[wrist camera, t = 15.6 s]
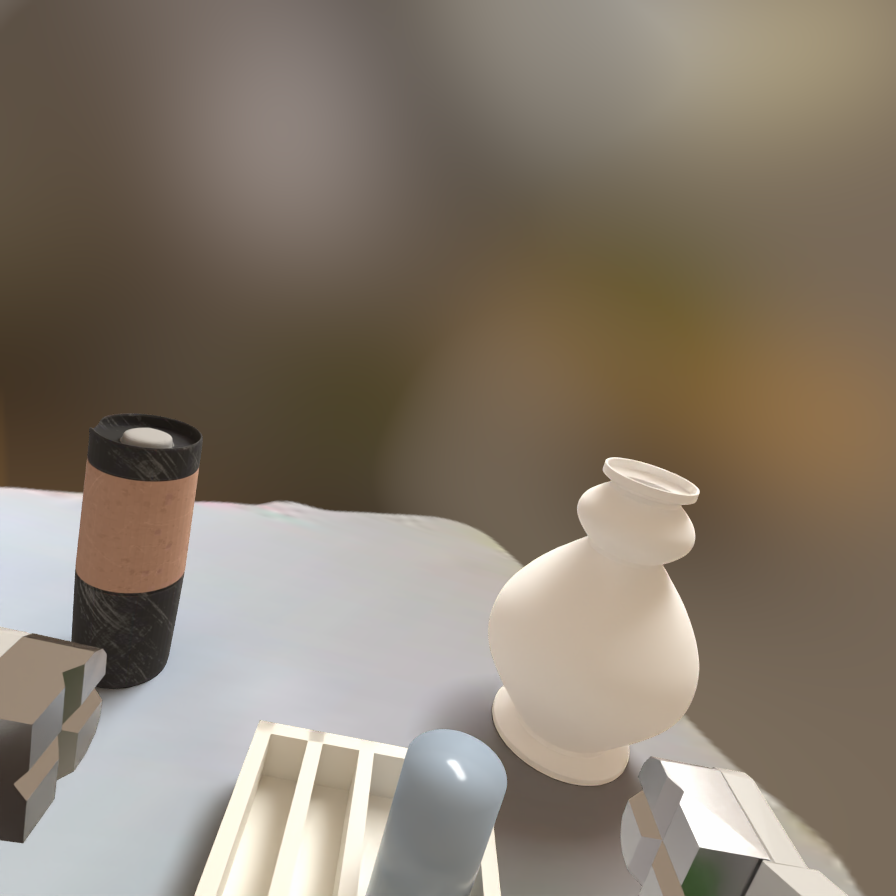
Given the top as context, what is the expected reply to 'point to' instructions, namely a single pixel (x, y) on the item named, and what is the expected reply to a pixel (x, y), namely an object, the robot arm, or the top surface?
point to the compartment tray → (311, 818)
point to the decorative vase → (599, 632)
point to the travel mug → (134, 541)
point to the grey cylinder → (439, 817)
